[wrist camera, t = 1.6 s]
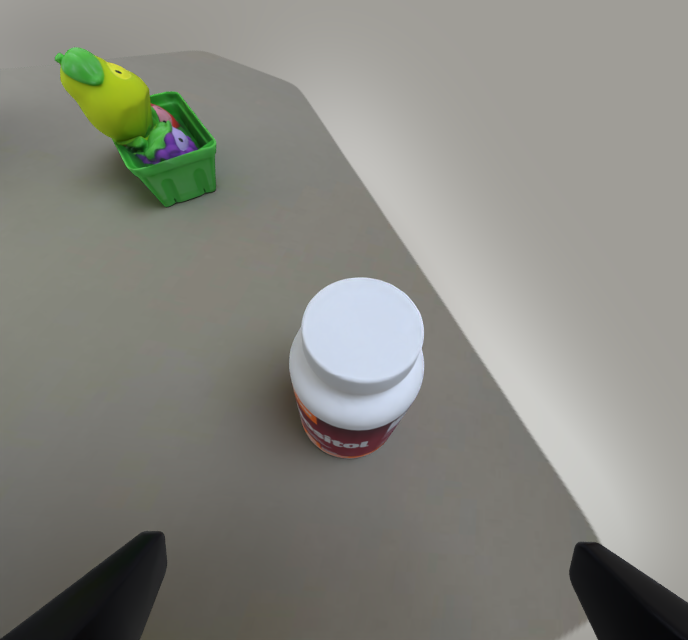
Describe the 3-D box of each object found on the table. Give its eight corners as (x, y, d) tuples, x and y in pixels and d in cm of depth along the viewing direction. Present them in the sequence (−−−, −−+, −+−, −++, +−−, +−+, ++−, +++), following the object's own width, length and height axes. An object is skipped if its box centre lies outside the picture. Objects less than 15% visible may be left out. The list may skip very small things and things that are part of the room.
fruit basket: (234, 193, 33) (195, 58, 24) (142, 225, 30) (57, 85, 21) (193, 139, 38) (148, 8, 29) (112, 161, 35) (31, 25, 26)
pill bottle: (281, 424, 21) (243, 342, 12) (334, 352, 24) (337, 240, 15) (364, 483, 20) (396, 441, 10) (411, 398, 22) (468, 305, 13)
